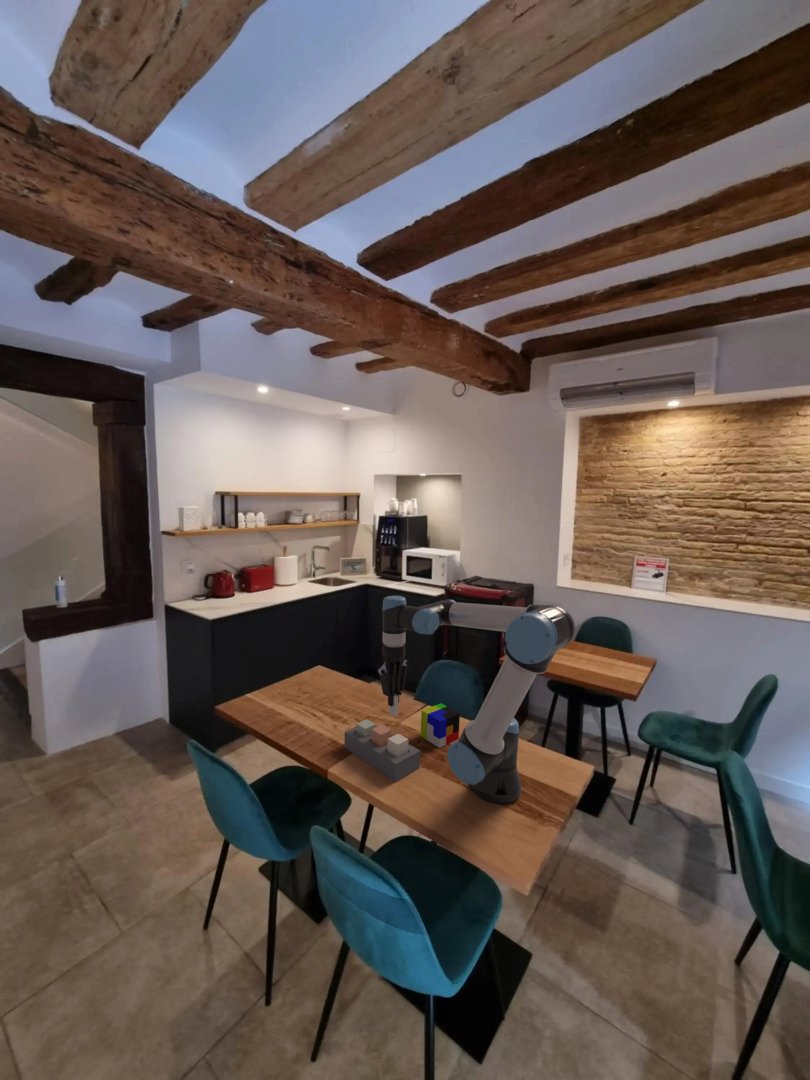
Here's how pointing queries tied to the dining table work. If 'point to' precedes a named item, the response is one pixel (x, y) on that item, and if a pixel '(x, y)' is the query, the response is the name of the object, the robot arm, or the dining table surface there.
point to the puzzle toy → (440, 725)
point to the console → (382, 756)
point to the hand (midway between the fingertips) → (393, 713)
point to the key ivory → (397, 745)
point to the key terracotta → (380, 735)
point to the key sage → (365, 728)
